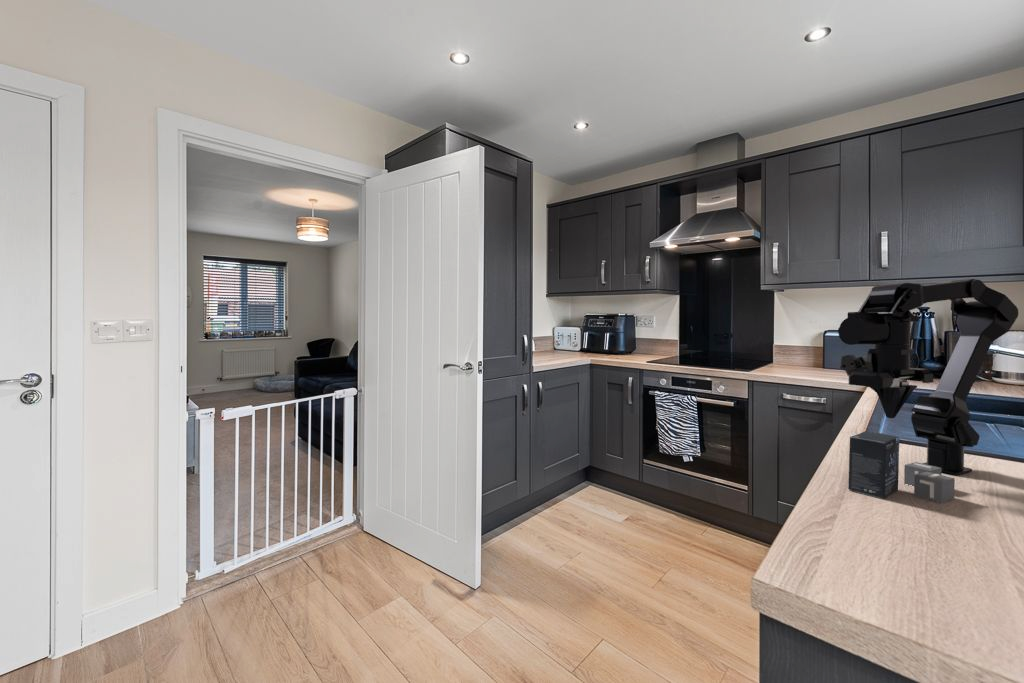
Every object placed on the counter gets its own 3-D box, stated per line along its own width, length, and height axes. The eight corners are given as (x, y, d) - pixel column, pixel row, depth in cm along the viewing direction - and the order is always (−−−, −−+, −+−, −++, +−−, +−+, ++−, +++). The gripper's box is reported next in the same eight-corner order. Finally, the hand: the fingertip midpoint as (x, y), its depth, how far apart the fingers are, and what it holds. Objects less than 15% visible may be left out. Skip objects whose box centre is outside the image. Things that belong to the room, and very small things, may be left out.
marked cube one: (915, 481, 89) (916, 461, 88) (941, 488, 85) (941, 466, 85) (903, 484, 87) (903, 464, 87) (929, 491, 83) (929, 469, 83)
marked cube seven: (926, 492, 83) (927, 470, 83) (954, 500, 79) (954, 477, 79) (913, 495, 82) (913, 473, 81) (941, 503, 78) (941, 480, 78)
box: (884, 500, 80) (885, 442, 79) (847, 490, 84) (848, 436, 84) (899, 490, 84) (900, 435, 84) (863, 482, 89) (864, 430, 88)
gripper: (875, 341, 103) (874, 407, 103) (822, 344, 96) (821, 414, 96) (935, 343, 92) (934, 416, 93) (881, 345, 85) (880, 425, 86)
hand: (890, 417), depth 92 cm, fingers closed
